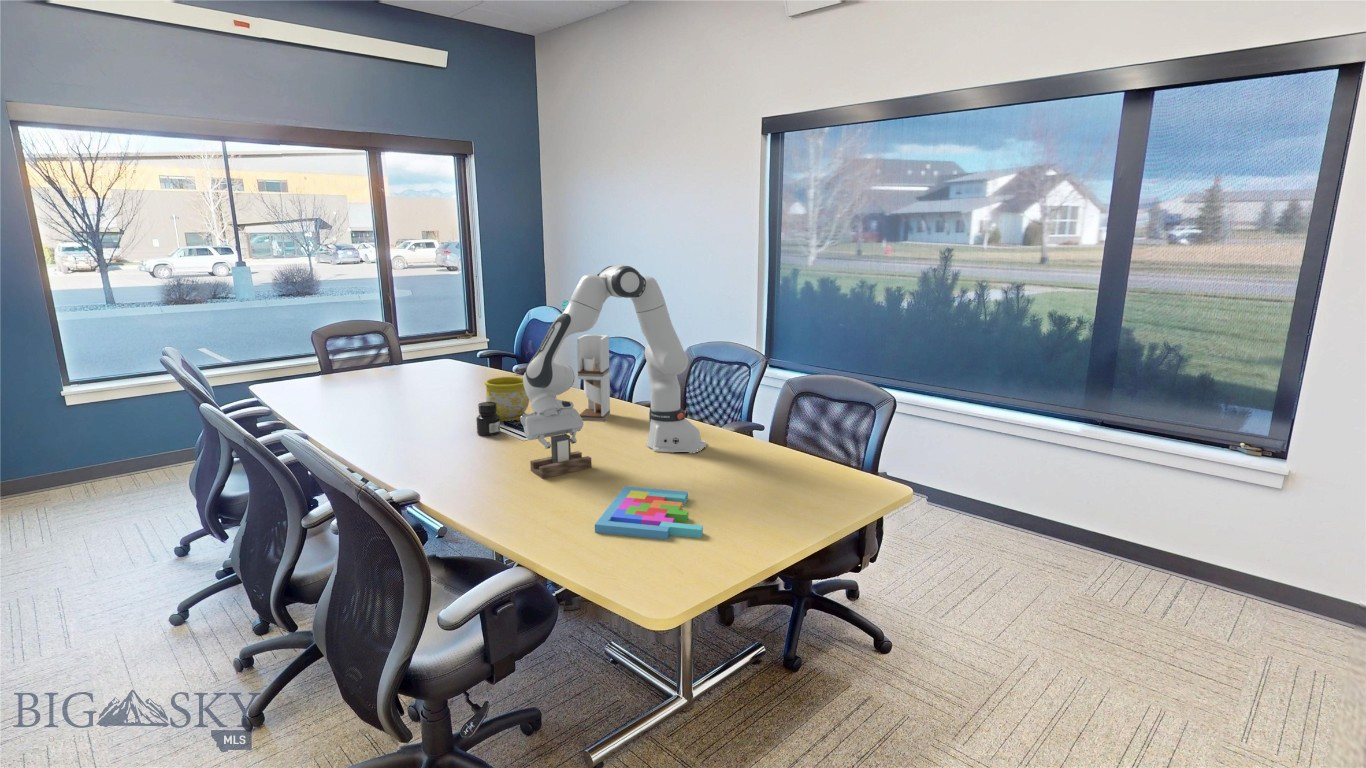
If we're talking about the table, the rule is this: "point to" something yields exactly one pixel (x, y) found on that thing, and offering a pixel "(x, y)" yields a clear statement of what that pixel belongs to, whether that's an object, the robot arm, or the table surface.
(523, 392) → the flowerpot
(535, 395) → the robot arm
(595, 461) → the table surface
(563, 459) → the dark grey rectangular block
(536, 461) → the display ledge
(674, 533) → the tetris game
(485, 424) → the ink bottle
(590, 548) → the table surface
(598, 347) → the rack with curved panels
